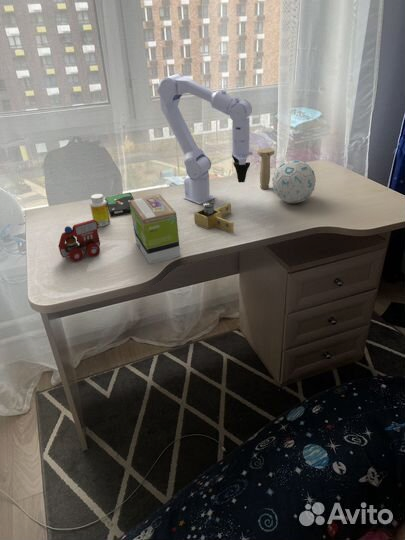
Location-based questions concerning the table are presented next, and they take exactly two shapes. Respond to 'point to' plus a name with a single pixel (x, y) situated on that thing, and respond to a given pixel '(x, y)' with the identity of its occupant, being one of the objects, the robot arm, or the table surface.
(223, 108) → the robot arm
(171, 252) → the tea box
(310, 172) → the puzzle ball
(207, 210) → the pin
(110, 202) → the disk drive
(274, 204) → the table surface
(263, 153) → the handle
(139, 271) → the table surface
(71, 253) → the toy fire truck
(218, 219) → the gold square socket frame
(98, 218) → the supplement bottle
